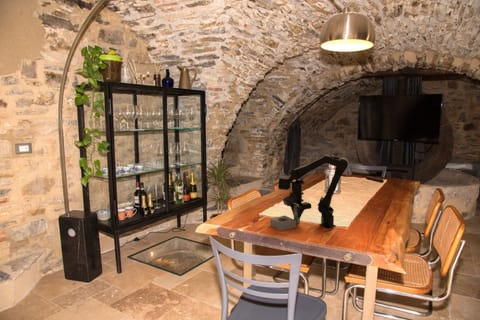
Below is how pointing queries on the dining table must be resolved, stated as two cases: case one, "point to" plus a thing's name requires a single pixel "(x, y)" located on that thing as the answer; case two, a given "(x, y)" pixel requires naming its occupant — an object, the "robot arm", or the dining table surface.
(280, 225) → the socket block
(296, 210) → the peg
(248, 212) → the dining table surface
